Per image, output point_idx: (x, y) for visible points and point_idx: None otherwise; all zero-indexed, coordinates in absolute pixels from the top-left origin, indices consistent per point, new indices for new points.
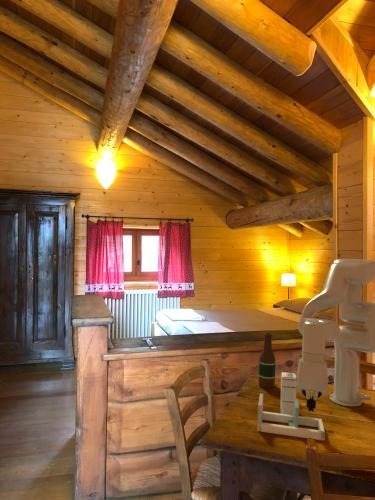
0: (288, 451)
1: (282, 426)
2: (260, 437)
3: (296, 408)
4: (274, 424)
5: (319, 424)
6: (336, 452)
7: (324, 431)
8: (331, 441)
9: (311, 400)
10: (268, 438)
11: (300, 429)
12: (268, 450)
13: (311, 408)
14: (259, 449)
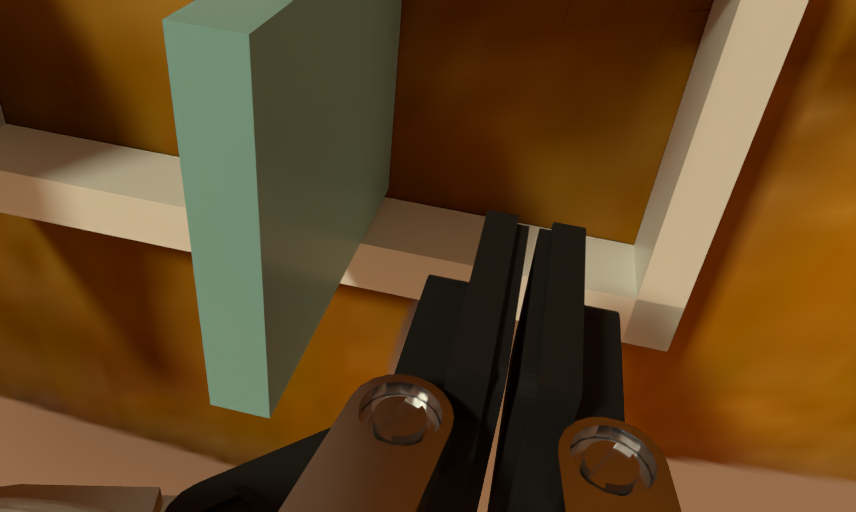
0: (286, 437)
1: (182, 233)
2: (47, 266)
3: (234, 398)
4: (90, 194)
5: (696, 136)
6: (687, 459)
7: (679, 320)
8: (738, 303)
9: (504, 434)
10: (114, 278)
11: (383, 287)
12: (149, 424)
13: (507, 380)
14: (90, 414)
